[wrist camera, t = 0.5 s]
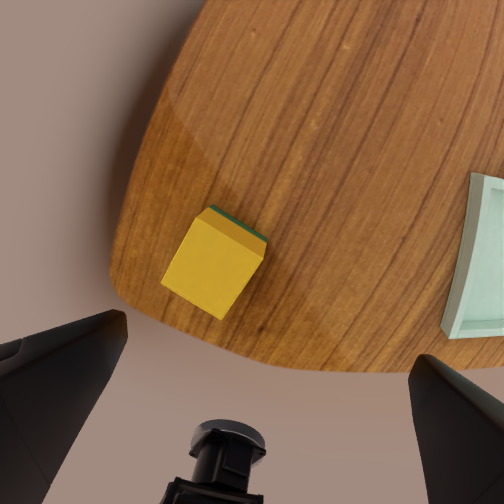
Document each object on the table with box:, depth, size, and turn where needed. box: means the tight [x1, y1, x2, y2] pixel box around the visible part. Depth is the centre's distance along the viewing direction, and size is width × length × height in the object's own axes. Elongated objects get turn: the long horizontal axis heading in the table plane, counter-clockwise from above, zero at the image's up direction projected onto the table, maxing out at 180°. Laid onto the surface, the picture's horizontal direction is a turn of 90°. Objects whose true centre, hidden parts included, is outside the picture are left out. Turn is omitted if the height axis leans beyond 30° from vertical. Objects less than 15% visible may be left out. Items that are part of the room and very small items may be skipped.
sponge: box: [161, 205, 267, 320], centre depth 21 cm, size 5×4×4 cm
